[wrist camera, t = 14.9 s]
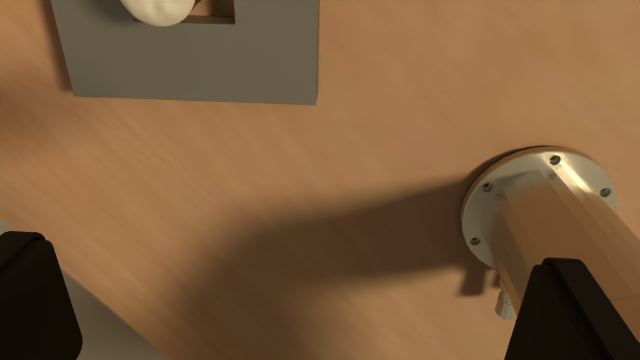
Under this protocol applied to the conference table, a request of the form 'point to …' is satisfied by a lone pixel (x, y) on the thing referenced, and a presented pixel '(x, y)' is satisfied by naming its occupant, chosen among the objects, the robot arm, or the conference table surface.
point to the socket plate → (193, 53)
